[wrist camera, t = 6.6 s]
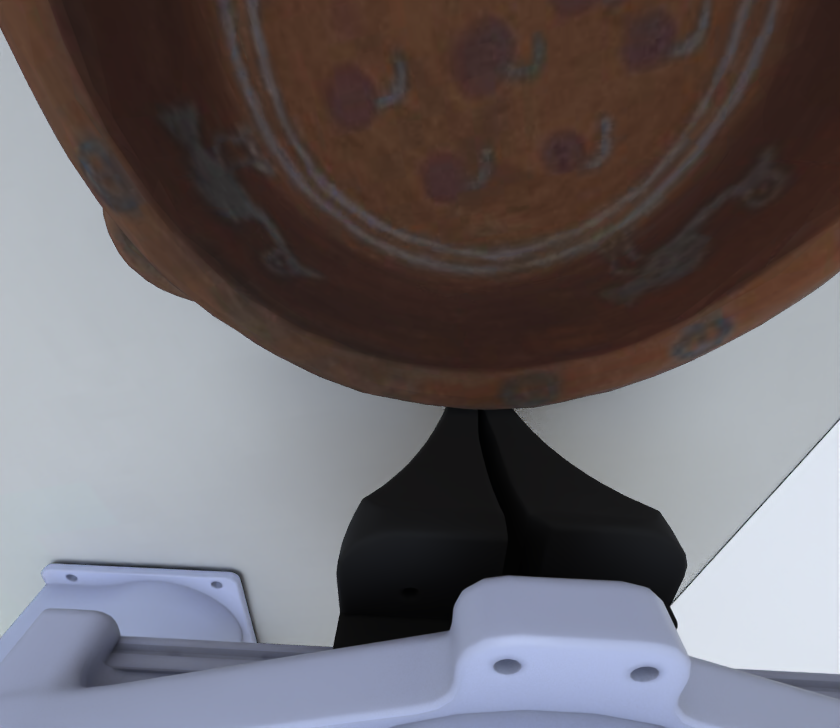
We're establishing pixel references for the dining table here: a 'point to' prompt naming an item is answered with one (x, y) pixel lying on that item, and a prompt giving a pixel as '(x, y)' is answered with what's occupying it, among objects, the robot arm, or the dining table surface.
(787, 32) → the dish
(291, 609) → the dining table surface
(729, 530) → the dining table surface
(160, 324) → the dining table surface
